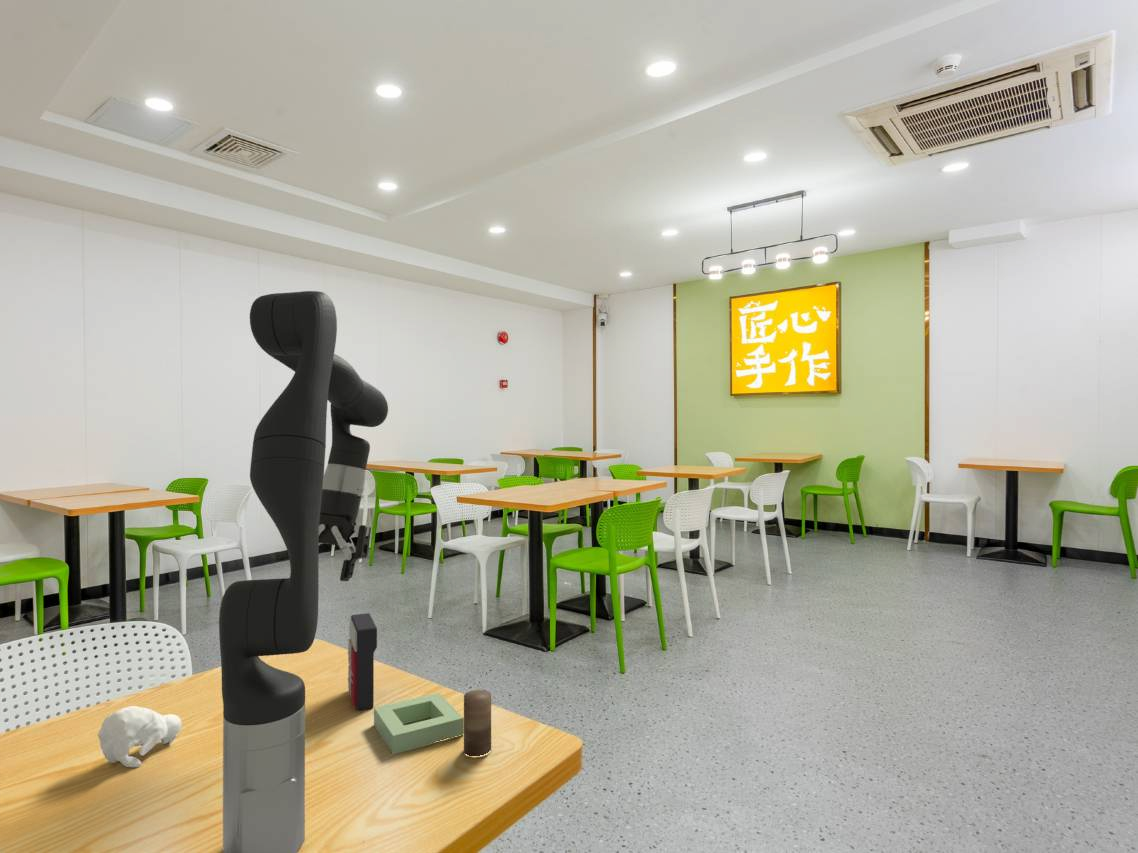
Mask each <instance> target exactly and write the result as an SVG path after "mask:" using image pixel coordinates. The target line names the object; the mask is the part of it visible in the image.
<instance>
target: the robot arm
mask: <svg viewBox="0 0 1138 853" xmlns="http://www.w3.org/2000/svg"><path fill="white" fill-rule="evenodd" d="M337 320H338V318H337V313H336V307H335V305H334V301H332V298H331V297H330V296H329V295H328V294H326V293H324V292H323V291H317V290H306V291H305V290H304V291H293V292H277V293H269V294H263V295H261V296H258V297H257V298H256V299H255V300H254V301H253V302H252V304H251V307H250V311H249V325H250V330H251V333H252V336H253V338H254V340H255V342H256V343H257V345H258V346H259V347H260V349H261V350H262V351H264V352H265V353H266V354H267V355H268V356H270V357H272V358H273V359H275V360H276V361H278V362H279V363H281V364H282V365H285V366H286V367H287V368H289V370H292V371H293V372H294V374H293V376H292V378H291V380H290V381H289V383H288V384H287V385H286V387H285V388H284V389H283V390H282V392H281V394H280V395H278V396H277V398H276V399H275V400H274V401H273V403H272V404H271V405H270V407H269V408H268V410H267V411H266V412H265V413H264V415H263V416H262V418H261V419H260V421H259V423H258V424H257V426H256V428H255V431H254V435H253V442H252V448H251V449H252V450H251V458H250V468H249V469H250V470H249V479H250V483H251V486H252V488H253V491H254V492H255V495H256V496H257V498H258V499H259V501H260V503H261V505H262V506H263V508H264V510H265V511H266V512H267V514H268V515H269V517H270V519H271V520H272V521H273V523H274V525H275V527H276V528H277V530H278V532H279V534H280V537H281V539H282V540H283V543H284V545H285V547H286V550H287V554H288V558H289V559H288V560H289V564H290V574H289V577H287V578H267V579H265V578H264V579H247V580H238V581H234V582H233V583H231V584H230V585H229V586H228V587H227V588H226V590H225V591H224V594H223V595H222V599H221V603H220V607H219V616H218V617H219V618H218V631H219V632H218V634H219V650H220V651H219V652H220V662H221V663H220V666H221V668H220V670H221V698H222V705H223V706H222V709H223V710H222V711H223V715H222V716H223V718H222V719H223V720H222V724H223V726H222V729H223V730H222V732H223V734H222V737H223V738H222V853H298V851H299V850H300V849H301V847H302V845H303V843H304V842H305V838H306V837H305V836H306V802H305V800H306V798H305V796H306V779H305V778H306V686H305V682H304V680H303V679H302V678H301V677H300V676H299V675H297V674H295V673H292V672H290V671H289V672H288V671H286V670H283V669H282V670H281V669H279V668H276V667H273V666H271V665H270V664H268V663H266V662H265V661H263V660H262V659H261V658H260V657H268V656H280V655H281V656H282V655H293V654H301V653H305V652H307V651H308V650H310V648H312V645H313V644H314V642H315V637H316V633H317V629H318V620H319V550H320V549H319V547H320V545H322V544H326V545H331V546H338V547H339V549H340V550H341V551H342V553H343V555H344V558H345V559H344V560H343V563H342V568H341V573H340V575H339V576H340V577H339V580H340V581H341V582H348V581H350V579H352V578H353V575H354V570H355V564H356V562H357V561H358V560H361V559H366V558H368V552H369V547H370V546H369V545H370V540H371V539H370V538H371V534H372V533H371V532H372V531H371V530H372V527H371V526H369V525H367V524H366V525H365V524H364V525H363V524H360V525H357V518H358V515H359V511H360V506H361V502H362V501H361V500H362V496H363V492H364V487H365V479H366V478H365V477H366V470H367V465H368V460H369V456H370V451H371V445H370V443H369V441H368V440H367V439H364V438H361V437H359V436H356V435H353V434H352V432H351V426H359V427H368V428H375V427H378V426H381V425H382V424H383V423H384V422H385V421H386V419H387V417H388V413H389V406H388V405H389V404H388V402H387V399H386V396H384V394H383V393H382V391H381V390H379V389H378V388H377V387H375V386H374V385H372V384H370V383H369V382H367V381H366V380H364V379H362V378H361V377H360V375H359V374H358V372H357V371H356V370H355V368H354V367H353V366H352V364H350V363H349V361H348V360H346V359H344V358H342V357H341V356H339V355H337V354H335V351H336V343H337V331H338V321H337ZM328 402H329V403H330V418H331V420H330V421H331V448H330V451H329V456H328V460H327V466H326V469H325V460H326V446H327V444H326V443H327V439H326V438H327V418H328V416H327V413H328V412H327V411H328ZM354 534H355V535H356V537H357V541H356V547H355V544H354V542H353V540H352V536H353V535H354Z"/></svg>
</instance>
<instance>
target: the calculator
mask: <svg viewBox="0 0 1138 853" xmlns="http://www.w3.org/2000/svg"><path fill="white" fill-rule="evenodd" d="M347 645H348V648H347V649H348V651H347V655H348V656H347V657H348V661H347V662H348V667H347V669H348V671H347V672H348V676H347V681H348V682H347V685H348V687H347V688H348V692H349V695H350V699H351V704H352V706H353V708H356V711H363V710H369V709H372V708H373V709H374V705H375V704H374V693H375V692H374V688H375V686H374V685H375V684H374V682H375V681H374V679H375V678H374V675H375V674H374V671H375V670H374V667H375V666H374V664H375V663H374V662H375V661H374V660H375V658H374V655H375V654H374V653H375V652H376V649H377V647H378V628H377V625H376V624H375V622H374V619H373V617H372V616H371V614H370V612H366V613H359V614H352V615H351V616H350V618H349V638H348V644H347Z"/></svg>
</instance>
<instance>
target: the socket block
mask: <svg viewBox="0 0 1138 853" xmlns="http://www.w3.org/2000/svg"><path fill="white" fill-rule="evenodd" d="M429 717H430V719H429ZM425 718H426V719H427V720H425ZM421 719H422V720H421ZM417 720H418V721H417ZM413 721H414V722H413ZM409 722H410V723H409ZM405 723H406V724H405ZM408 723H409V724H408ZM373 725H374V727H375V728H376V730H377V732H378V733H379V735H380V736H381V738H382V739H383V741H384V742H385V744H386V746H387V747H388V749H389V750H390V751H391V753H392V755H397V754H401V753H404V752H408V751H412V750H415V749H418V748H423V747H426V745H427V746H429V745H428V744H430V745H432V744H431V743H434V742H436V741H440V740H444V739H447V738H452V737H455V736H459V735H462V734H464V716H462V715H461V713H459V711H458V710H456V709H455V707H454V706H453V705H451V703H450V702H449V701H448V700H447V699H446V698H445V697H444V696H443V695H442V694H441V693H440V692H437V693H432V694H428V695H424V696H418V697H415V698H410V699H405V700H403V701H402V700H401V701H397V702H393V703H388V704H384V705H379V706H375V707H373ZM434 744H435V743H434ZM422 746H423V747H422Z"/></svg>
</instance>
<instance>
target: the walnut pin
mask: <svg viewBox="0 0 1138 853" xmlns="http://www.w3.org/2000/svg"><path fill="white" fill-rule="evenodd" d="M463 718H464V736H463V754H464V753H465V754H467V755H469V756H480V755H484V754H486V753H488V752H489V751H490V750H491V751H492V692H490V691H489V690H485V689H474V690H470V691H467V692H465V693H464V695H463ZM465 754H464V755H465Z"/></svg>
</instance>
